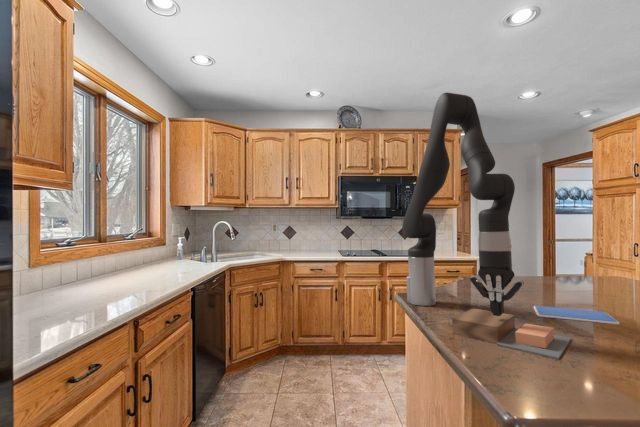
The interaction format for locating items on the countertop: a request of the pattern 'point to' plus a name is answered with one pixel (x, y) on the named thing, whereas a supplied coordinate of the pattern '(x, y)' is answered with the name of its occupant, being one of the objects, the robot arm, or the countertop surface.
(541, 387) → the countertop surface
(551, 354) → the mat
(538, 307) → the tablet computer
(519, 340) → the orange rectangular block
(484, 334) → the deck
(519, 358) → the countertop surface
